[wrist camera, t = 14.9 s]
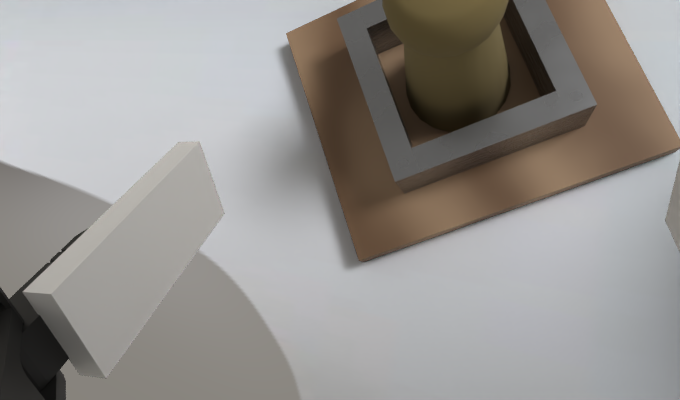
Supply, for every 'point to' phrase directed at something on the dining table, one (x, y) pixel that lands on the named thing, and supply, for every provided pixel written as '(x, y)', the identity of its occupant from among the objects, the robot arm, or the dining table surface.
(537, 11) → the socket plate
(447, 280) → the dining table surface
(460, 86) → the cork
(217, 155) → the dining table surface
